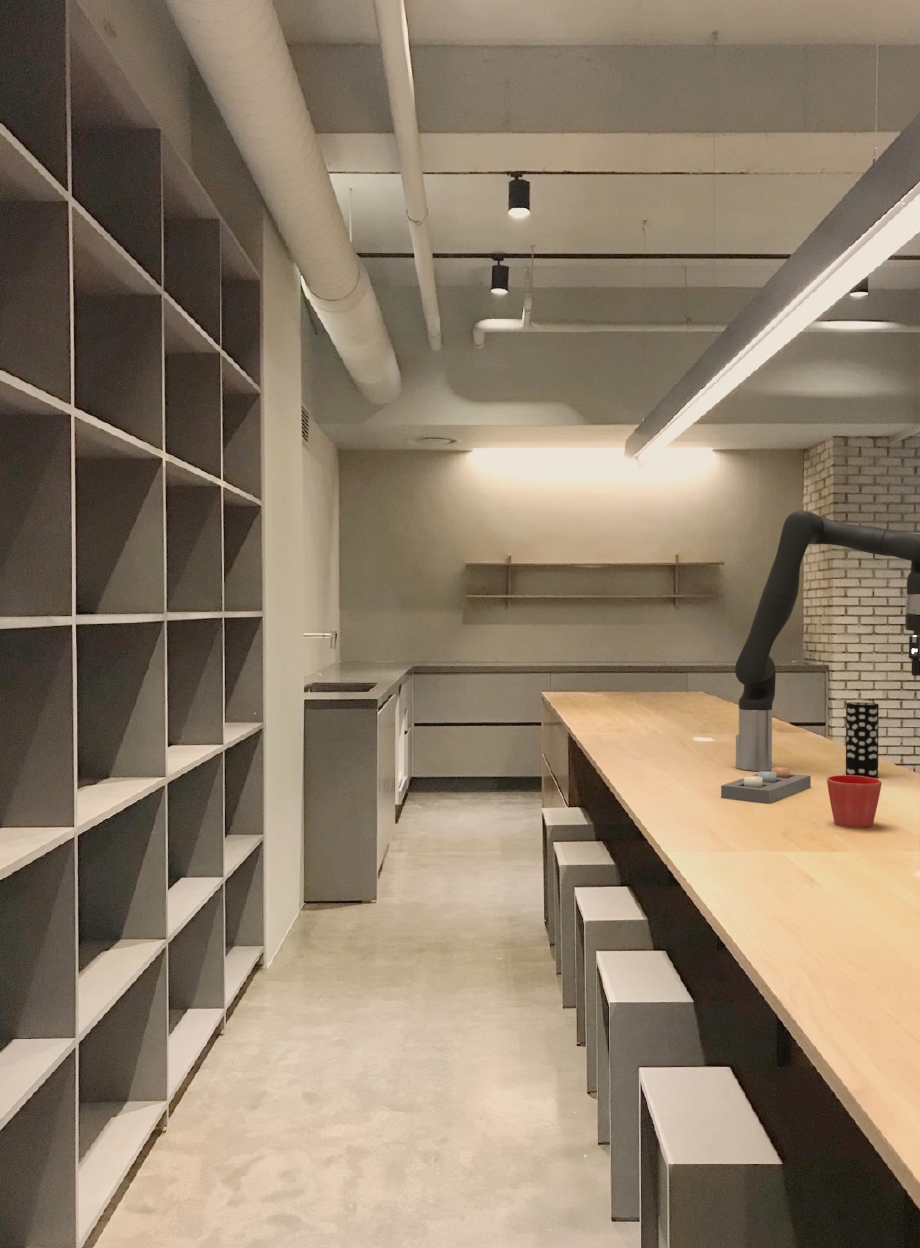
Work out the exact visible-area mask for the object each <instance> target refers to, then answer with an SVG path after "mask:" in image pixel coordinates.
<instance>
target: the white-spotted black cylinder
mask: <svg viewBox="0 0 920 1248" xmlns="http://www.w3.org/2000/svg"><path fill="white" fill-rule="evenodd" d="M879 708H880V705H879V703H874V702H864V701H863V702H859V701H857V702H856V701H854V702H853V701H851V702H846V703H845V775H854V776H863V777H870V778H875V779H878V778H879V732H880V731H879V729H880V728H879V723H880V722H879V721H880V720H879V717H880V716H879V713H880V712H879V710H880V709H879Z"/></svg>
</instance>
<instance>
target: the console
mask: <svg viewBox="0 0 920 1248" xmlns="http://www.w3.org/2000/svg"><path fill="white" fill-rule="evenodd" d="M751 776H758V773H755V774H752V775H751ZM811 777H812V776H811V775H807V774H797V773H790V778H779V777H776V783H768V782H762V788H754V787H745V786H744V777H743V778H740V779H737V780H733V781H731V782H728V783H725V784H722V785H721V786H720V790H721V791H720V797H721V799H729V800H737V801H746V802H752V803H761V804H772V803H774V802H776V801H780V800H782V799H784V798H788V797H789V796H792V795H794V794H797V793H799V792H800V793H801V792H802V791H805V790H807V789H809V788H811Z"/></svg>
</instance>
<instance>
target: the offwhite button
mask: <svg viewBox="0 0 920 1248" xmlns="http://www.w3.org/2000/svg"><path fill="white" fill-rule="evenodd" d="M743 778H744V786H745V787H754V788H762V777H760V776H752V775H744V776H743Z"/></svg>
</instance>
